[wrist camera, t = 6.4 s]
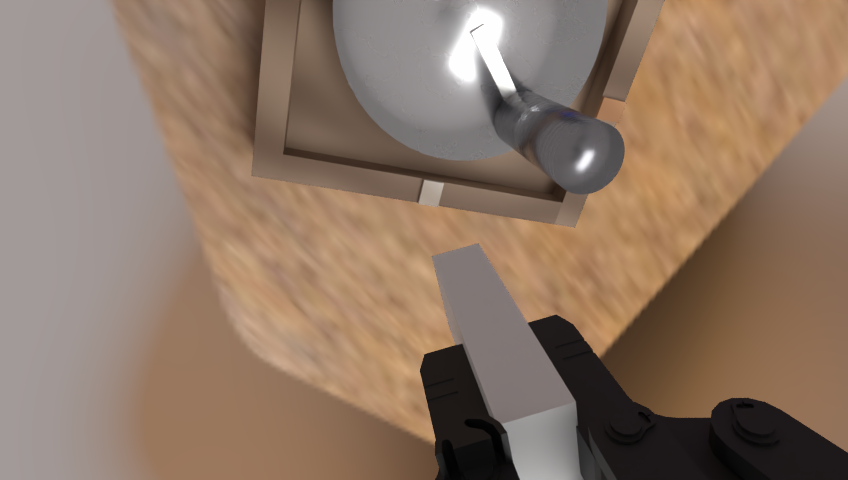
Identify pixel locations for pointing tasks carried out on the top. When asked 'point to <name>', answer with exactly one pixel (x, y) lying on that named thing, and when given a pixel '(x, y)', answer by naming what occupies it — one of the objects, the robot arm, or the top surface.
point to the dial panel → (390, 159)
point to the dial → (483, 80)
